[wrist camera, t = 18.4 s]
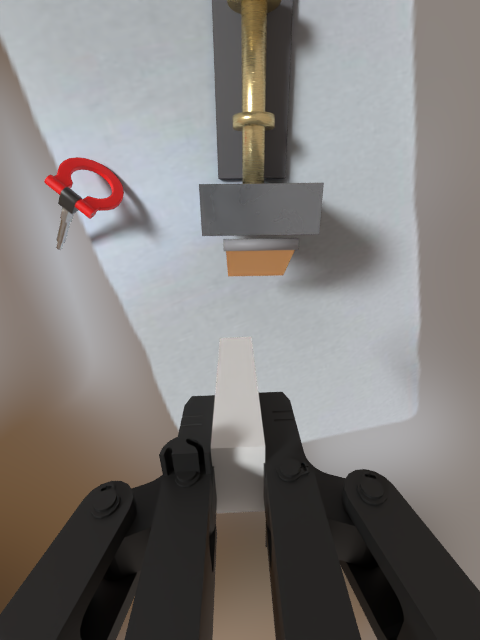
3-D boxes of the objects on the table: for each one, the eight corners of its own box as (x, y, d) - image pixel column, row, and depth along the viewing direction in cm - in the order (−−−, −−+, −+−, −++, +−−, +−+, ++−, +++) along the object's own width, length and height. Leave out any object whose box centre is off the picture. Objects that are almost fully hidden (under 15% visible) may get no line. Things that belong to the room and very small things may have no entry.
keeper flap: (223, 248, 25) (226, 277, 33) (299, 246, 25) (285, 276, 33) (223, 237, 25) (226, 268, 33) (298, 236, 25) (284, 267, 33)
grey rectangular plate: (211, 187, 37) (199, 184, 24) (291, 186, 37) (323, 182, 24) (212, 221, 38) (202, 235, 25) (290, 220, 38) (319, 234, 26)
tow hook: (135, 189, 36) (96, 218, 32) (113, 238, 44) (79, 267, 39) (86, 146, 34) (37, 171, 30) (72, 205, 42) (30, 232, 37)
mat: (209, -83, 28) (208, -90, 27) (294, -83, 28) (296, -90, 27) (218, 178, 36) (218, 178, 36) (284, 177, 36) (285, 177, 36)
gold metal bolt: (227, -3, 29) (226, -40, 25) (277, -4, 29) (286, -40, 25) (231, 199, 36) (231, 200, 32) (272, 199, 36) (278, 199, 32)
